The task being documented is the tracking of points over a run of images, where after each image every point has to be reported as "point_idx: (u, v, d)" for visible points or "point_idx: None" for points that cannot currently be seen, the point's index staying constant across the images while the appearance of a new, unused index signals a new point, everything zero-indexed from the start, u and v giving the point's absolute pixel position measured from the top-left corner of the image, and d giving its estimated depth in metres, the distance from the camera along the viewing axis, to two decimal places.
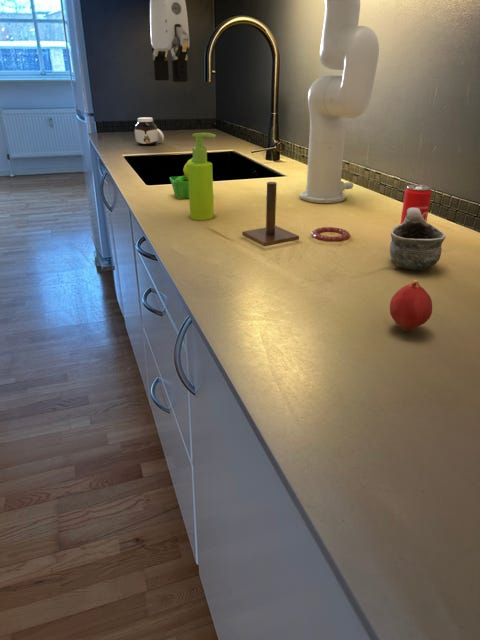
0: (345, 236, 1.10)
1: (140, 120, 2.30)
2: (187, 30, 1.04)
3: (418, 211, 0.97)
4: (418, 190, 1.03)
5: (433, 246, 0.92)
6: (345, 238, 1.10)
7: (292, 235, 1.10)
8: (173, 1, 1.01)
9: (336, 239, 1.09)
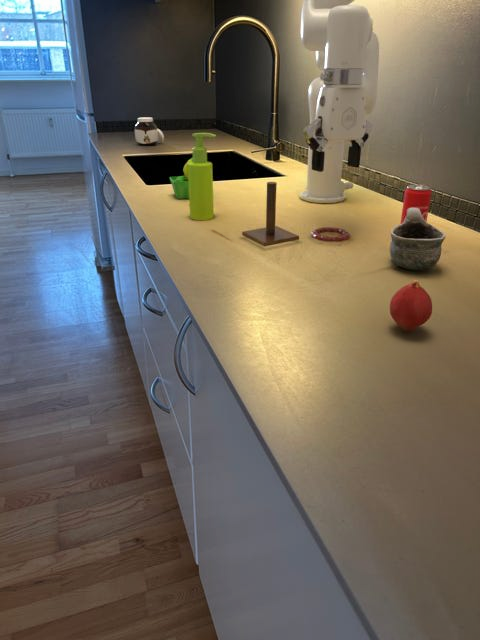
0: (345, 236, 1.10)
1: (140, 120, 2.30)
2: (327, 123, 1.00)
3: (418, 211, 0.97)
4: (418, 190, 1.03)
5: (433, 246, 0.92)
6: (345, 238, 1.10)
7: (292, 235, 1.10)
8: (321, 94, 1.00)
9: (336, 239, 1.09)
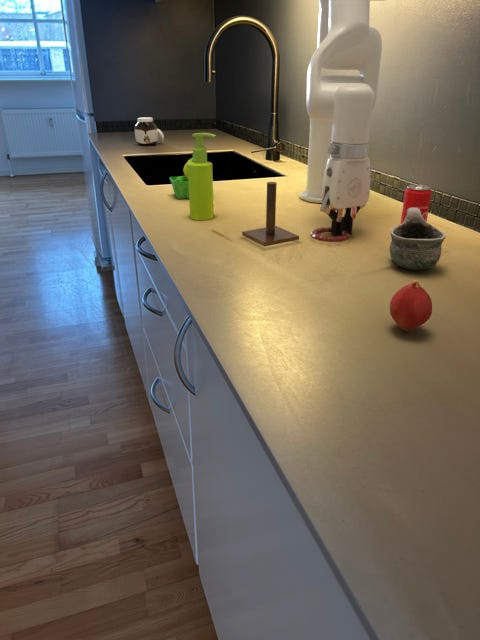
0: (344, 236, 1.10)
1: (140, 120, 2.30)
2: (334, 193, 1.05)
3: (418, 211, 0.97)
4: (418, 190, 1.03)
5: (433, 246, 0.92)
6: (344, 238, 1.09)
7: (292, 235, 1.10)
8: (328, 166, 1.05)
9: (335, 239, 1.09)
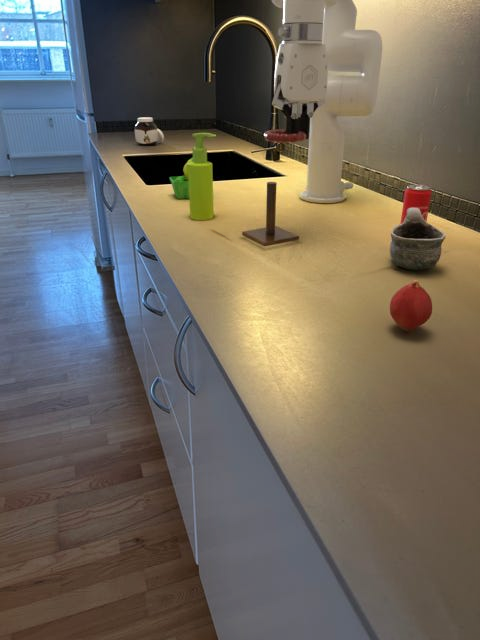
0: (299, 134, 0.99)
1: (140, 120, 2.30)
2: (286, 81, 0.95)
3: (418, 211, 0.97)
4: (418, 190, 1.03)
5: (433, 246, 0.92)
6: (299, 136, 0.99)
7: (292, 235, 1.10)
8: (280, 51, 0.95)
9: (289, 136, 0.99)
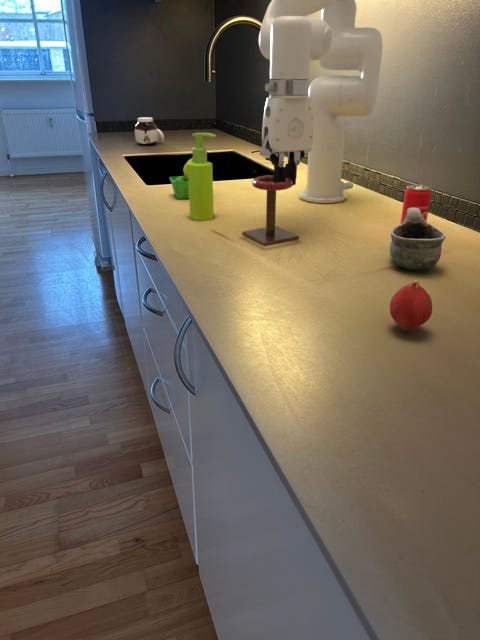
0: (286, 182, 1.04)
1: (140, 120, 2.30)
2: (272, 133, 0.99)
3: (418, 211, 0.97)
4: (418, 190, 1.03)
5: (433, 246, 0.92)
6: (286, 184, 1.03)
7: (292, 235, 1.10)
8: (267, 105, 0.99)
9: (276, 185, 1.03)
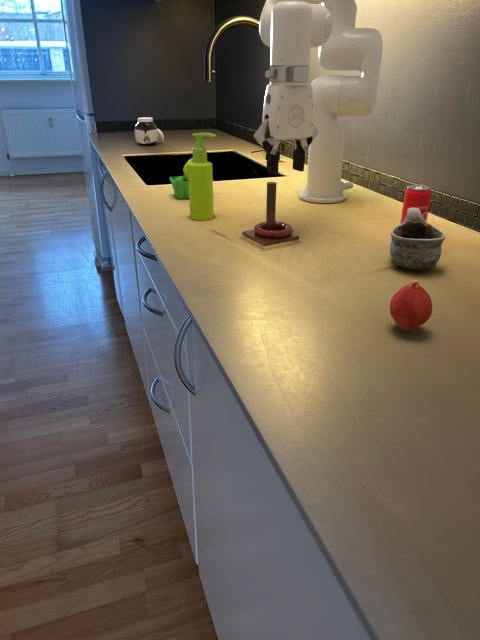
0: (286, 230, 1.09)
1: (140, 120, 2.30)
2: (273, 121, 0.98)
3: (418, 211, 0.97)
4: (418, 190, 1.03)
5: (433, 246, 0.92)
6: (286, 232, 1.08)
7: (292, 235, 1.10)
8: (267, 92, 0.98)
9: (277, 233, 1.08)
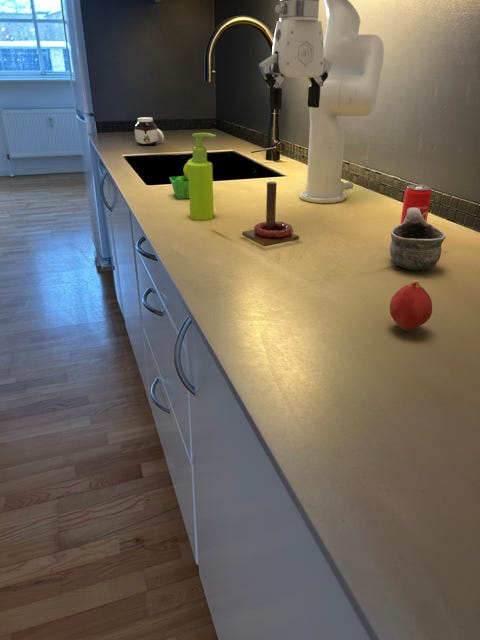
0: (286, 230, 1.09)
1: (140, 120, 2.30)
2: (283, 57, 0.99)
3: (418, 211, 0.97)
4: (418, 190, 1.03)
5: (433, 246, 0.92)
6: (286, 232, 1.08)
7: (292, 235, 1.10)
8: (277, 28, 0.98)
9: (277, 233, 1.08)
